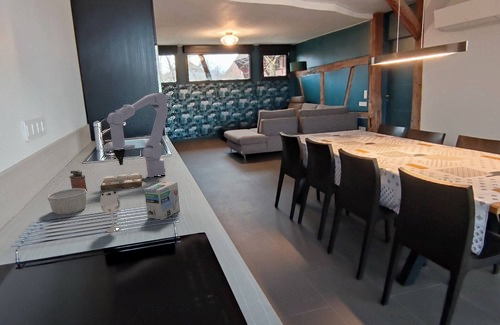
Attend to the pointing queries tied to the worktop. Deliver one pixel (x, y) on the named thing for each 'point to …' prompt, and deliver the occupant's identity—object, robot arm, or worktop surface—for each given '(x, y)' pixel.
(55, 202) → the ramekin
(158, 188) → the light bulb box
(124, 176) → the key
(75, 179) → the lighter
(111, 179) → the key
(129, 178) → the button board
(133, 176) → the key
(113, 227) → the wineglass
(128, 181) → the pattern card
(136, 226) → the worktop surface
